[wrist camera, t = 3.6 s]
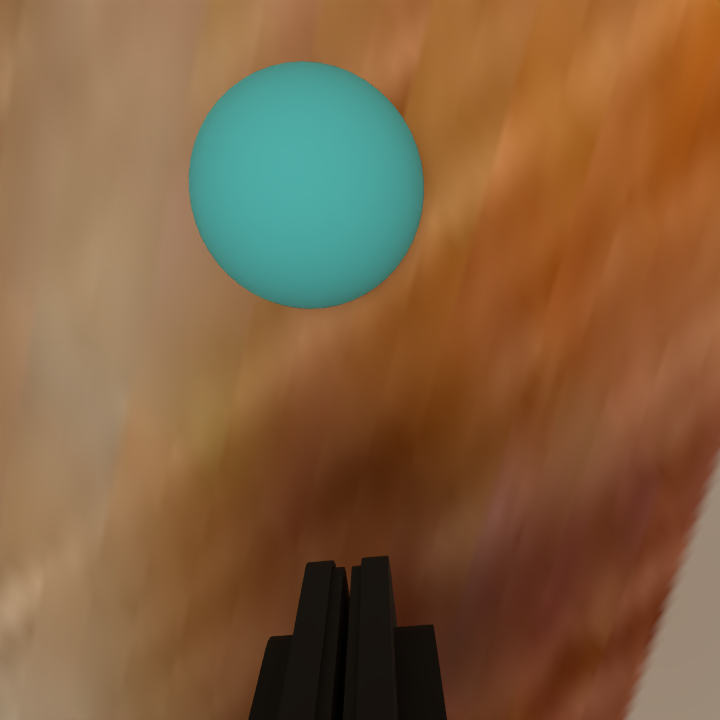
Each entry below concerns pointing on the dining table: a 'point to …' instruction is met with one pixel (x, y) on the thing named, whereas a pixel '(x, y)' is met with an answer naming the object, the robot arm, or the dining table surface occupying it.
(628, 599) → the dining table surface
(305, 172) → the ball
